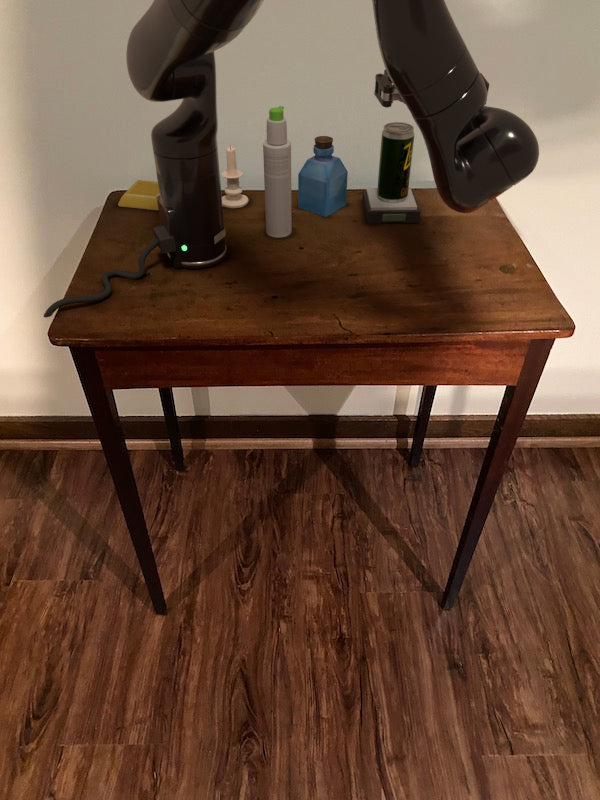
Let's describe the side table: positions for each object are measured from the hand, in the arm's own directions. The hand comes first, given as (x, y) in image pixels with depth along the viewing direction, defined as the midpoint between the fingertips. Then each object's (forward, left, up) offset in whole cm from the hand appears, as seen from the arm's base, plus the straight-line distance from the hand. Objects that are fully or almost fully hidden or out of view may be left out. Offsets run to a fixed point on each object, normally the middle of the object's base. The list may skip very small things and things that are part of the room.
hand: (419, 73), depth 93 cm
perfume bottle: (-6, +17, -26) cm, 32 cm away
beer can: (+4, +10, -23) cm, 26 cm away
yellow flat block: (-34, +33, -24) cm, 53 cm away
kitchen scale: (+4, +10, -26) cm, 28 cm away
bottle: (-17, +11, -26) cm, 33 cm away
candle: (-20, +25, -26) cm, 42 cm away
